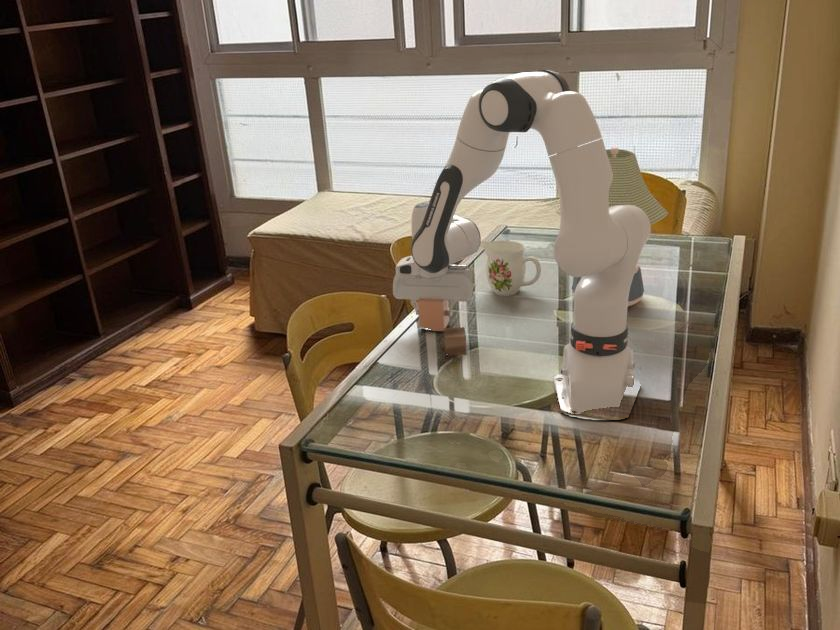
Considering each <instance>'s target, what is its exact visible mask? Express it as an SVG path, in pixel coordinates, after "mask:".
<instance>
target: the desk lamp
mask: <svg viewBox="0 0 840 630" xmlns="http://www.w3.org/2000/svg"><path fill="white" fill-rule="evenodd" d="M606 152H607V156H608V159H609V162H610V165H611V169H612V172H613V180H612V183H611V185H610V189H609V200H608V201H609V207H612V206H618V205H634V206H637V207H639V208H640V209H642V210H643V211H644V212H645V213H646V215H647V216H648V218H649V221H650V225H651V226H652V225H654V224H656V223H658V222H659V221H661V220H663V219H664V218H665V217H667V216H668V214H669V212H668V211H667V210H666V209H665V208H664V207H663V205H661V204H660V203H659V201H658V200H657V199H656V197H655V196H654V195H653V194H652V193H651V191H650V190H649V188H648V186H647V184H646V182H645V180H644V178H643V175H642V172H641V169H640V166H639V162H638V160H637V156H636V153H634V152H632V151H630V150H627V149H619V147H617V146H612V147H611V148H610V149H606ZM555 213H556V214H557V215H558V216H560V208H559V209H557V211H556V212H555ZM581 278H582V277H573V281H572V286H571V290H572V292H571V293H572V296H573V297H574V292H575V289H576V286H577V285H578V283H579V281H580V280H581ZM644 292H645V289H644V282H643V275H642V269H641V266H640V265H639V264H638V263H637V266H636V270H635V273H634V276H633V280H632V283H631V287H630V291H629V297H628V307H631V306H633V305H635V304H637V303H638V302H640V301H642V300H643V297H644Z"/></svg>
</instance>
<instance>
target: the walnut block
mask: <svg viewBox="0 0 840 630" xmlns="http://www.w3.org/2000/svg"><path fill="white" fill-rule="evenodd" d="M443 338H444V339H443V340H444V343H443V345H444V353H445V354H448V355H450V356H462V355H463V356H464V355H467V334H466V329H465V327H464V326H463V327H462V326H461V327H446V328H444V331H443Z"/></svg>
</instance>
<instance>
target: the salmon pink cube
mask: <svg viewBox="0 0 840 630" xmlns="http://www.w3.org/2000/svg"><path fill="white" fill-rule="evenodd" d="M417 303H418V310H419V315H418V320H419V321H418V322H419V324H418V325H419V328H420V327H424V328H428V329H431V330H435V331H434V332H444V328H448V324H449V322H450V316H446V313H445V310H446V308H450V306H449V305H450V304H449V301H444V300H434V299H419V300H417Z"/></svg>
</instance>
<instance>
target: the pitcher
mask: <svg viewBox="0 0 840 630" xmlns="http://www.w3.org/2000/svg"><path fill="white" fill-rule="evenodd" d="M480 247H481V248H483V250H484V252H485V254H486V256H487V258H486V263H485V272H486V278H487V282H488V284H489V287H490V289H491V290H492V291H493V292H494V293H495V294H496V295H498V296H503V297H504V296H505V297H506V296H514V295H516V294H517V293H518V292H519V291H520V289H521V288H522V287H527V286H531V285H533V284H535V283H536V282H537V281H538V280H539V279H540V276H541V274H542V273H541V272H542V267H541V263H540V261H539V259H538V258H536V257H535V256H532V255H531V256H526V257H524V252H525V245H523V243H521V242H517V241H512V240H494V241H481V242H480ZM527 262H532V263H533V264H534V265H535V269H536V272H535V276H534V277H533V278H531V279H529V280H525V276H526V263H527Z"/></svg>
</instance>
